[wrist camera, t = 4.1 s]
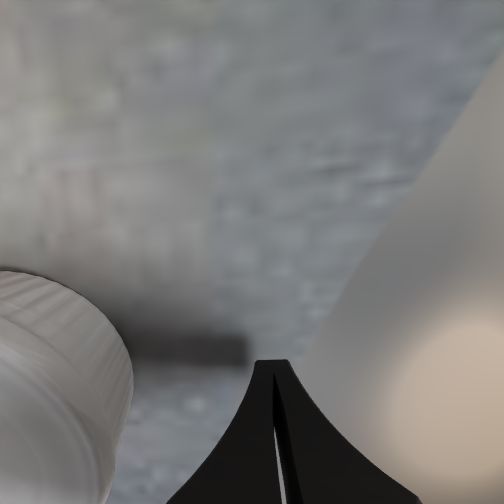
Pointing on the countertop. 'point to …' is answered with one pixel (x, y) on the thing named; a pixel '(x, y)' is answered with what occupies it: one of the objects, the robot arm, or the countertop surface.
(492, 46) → the countertop surface
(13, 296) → the ramekin
